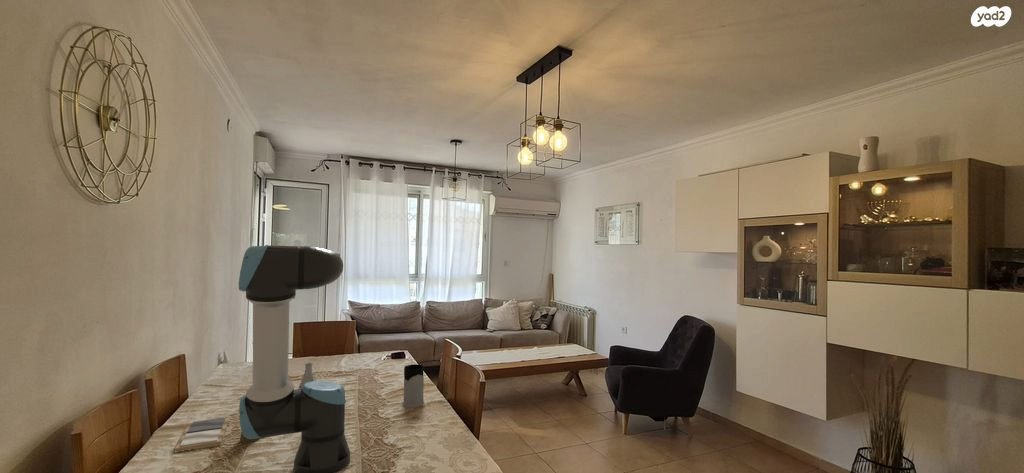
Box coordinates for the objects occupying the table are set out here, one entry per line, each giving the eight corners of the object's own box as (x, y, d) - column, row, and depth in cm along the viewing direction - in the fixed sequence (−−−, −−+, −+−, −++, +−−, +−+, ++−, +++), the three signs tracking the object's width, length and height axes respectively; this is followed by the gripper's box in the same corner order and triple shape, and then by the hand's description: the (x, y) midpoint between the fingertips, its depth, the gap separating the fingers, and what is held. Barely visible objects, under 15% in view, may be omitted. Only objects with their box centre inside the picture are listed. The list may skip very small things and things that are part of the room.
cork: (256, 433, 148) (257, 401, 149) (264, 439, 144) (265, 405, 145) (236, 439, 144) (237, 405, 144) (243, 445, 140) (245, 410, 140)
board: (221, 445, 140) (221, 440, 140) (174, 452, 134) (174, 447, 134) (229, 420, 159) (229, 416, 159) (189, 426, 154) (189, 421, 154)
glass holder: (407, 409, 173) (408, 370, 173) (394, 399, 184) (394, 363, 185) (428, 404, 178) (428, 367, 178) (413, 395, 189) (414, 360, 190)
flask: (299, 384, 203) (300, 362, 203) (316, 382, 206) (317, 360, 206) (299, 388, 196) (299, 366, 196) (316, 386, 199) (317, 364, 199)
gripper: (294, 291, 150) (293, 353, 150) (295, 285, 173) (294, 339, 172) (269, 291, 147) (268, 355, 146) (273, 285, 169) (272, 340, 169)
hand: (282, 346), depth 159 cm, fingers open, 13 cm apart
